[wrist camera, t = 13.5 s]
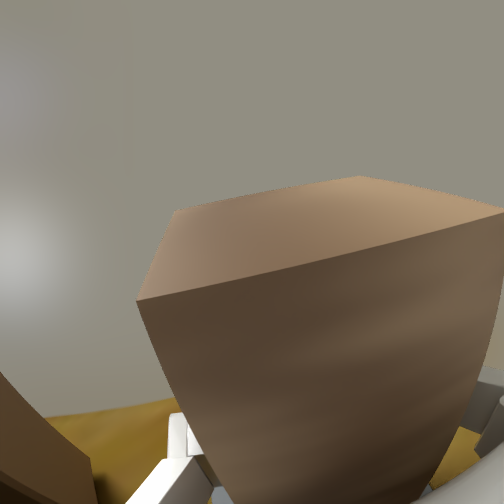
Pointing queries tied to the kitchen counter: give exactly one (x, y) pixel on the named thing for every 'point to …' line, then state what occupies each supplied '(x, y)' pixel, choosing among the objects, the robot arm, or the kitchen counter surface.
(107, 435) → the kitchen counter surface
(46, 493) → the photo frame
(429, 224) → the walnut block
